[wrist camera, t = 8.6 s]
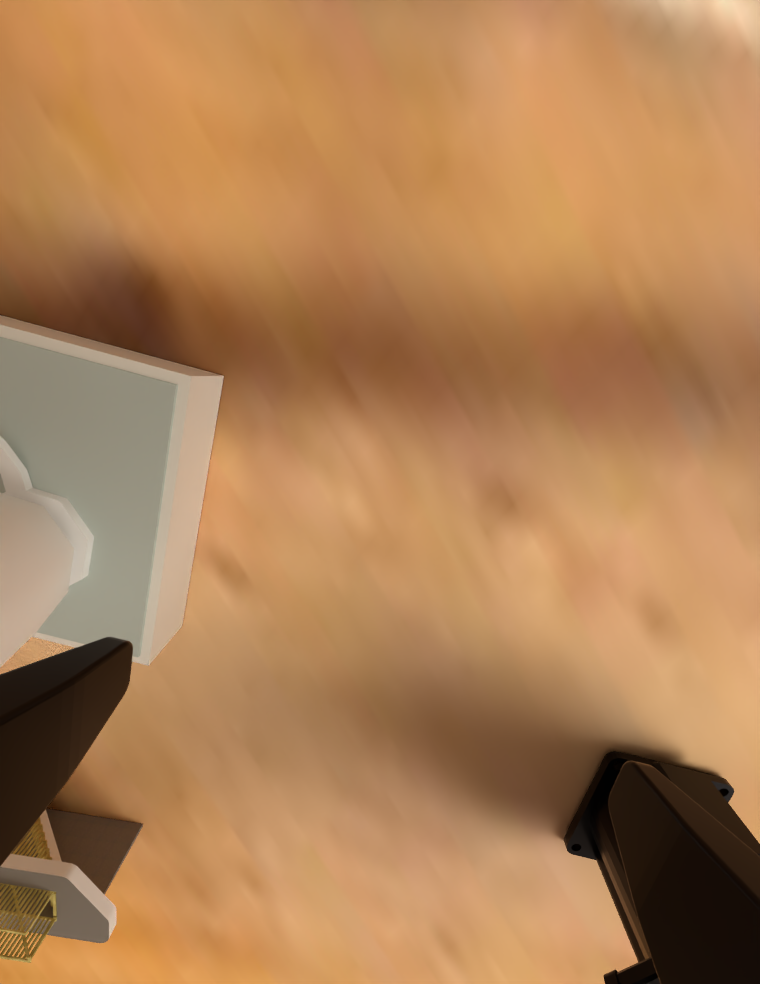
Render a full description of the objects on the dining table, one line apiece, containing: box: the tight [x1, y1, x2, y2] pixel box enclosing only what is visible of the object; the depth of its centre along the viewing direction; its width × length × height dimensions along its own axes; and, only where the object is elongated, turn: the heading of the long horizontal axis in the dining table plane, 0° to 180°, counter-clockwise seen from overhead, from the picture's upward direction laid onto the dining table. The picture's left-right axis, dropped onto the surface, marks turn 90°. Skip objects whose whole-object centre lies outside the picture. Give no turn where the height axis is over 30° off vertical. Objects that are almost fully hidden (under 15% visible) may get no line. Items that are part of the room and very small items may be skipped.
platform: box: [0, 809, 143, 963], centre depth 22 cm, size 12×18×7 cm, turn 81°
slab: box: [0, 315, 224, 666], centre depth 18 cm, size 12×10×3 cm
